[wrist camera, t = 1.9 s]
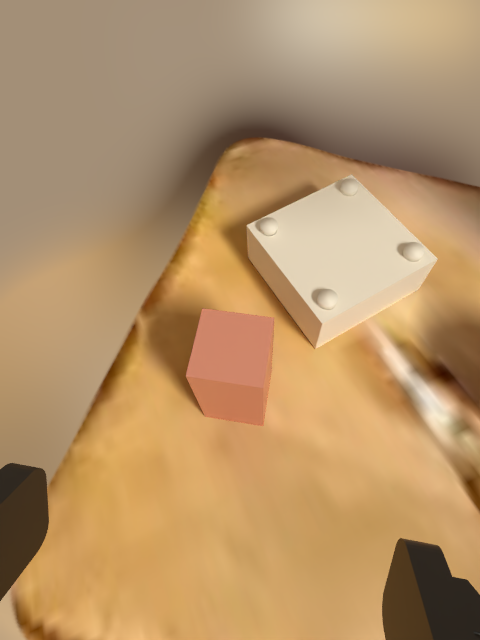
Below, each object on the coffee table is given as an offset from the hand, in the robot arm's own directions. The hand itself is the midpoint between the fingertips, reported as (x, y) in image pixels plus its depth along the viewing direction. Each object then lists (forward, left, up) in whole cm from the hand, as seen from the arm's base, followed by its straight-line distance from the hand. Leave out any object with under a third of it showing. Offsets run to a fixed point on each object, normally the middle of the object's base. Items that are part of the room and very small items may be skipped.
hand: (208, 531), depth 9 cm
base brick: (-19, -16, -24) cm, 35 cm away
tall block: (-5, -10, -24) cm, 27 cm away
